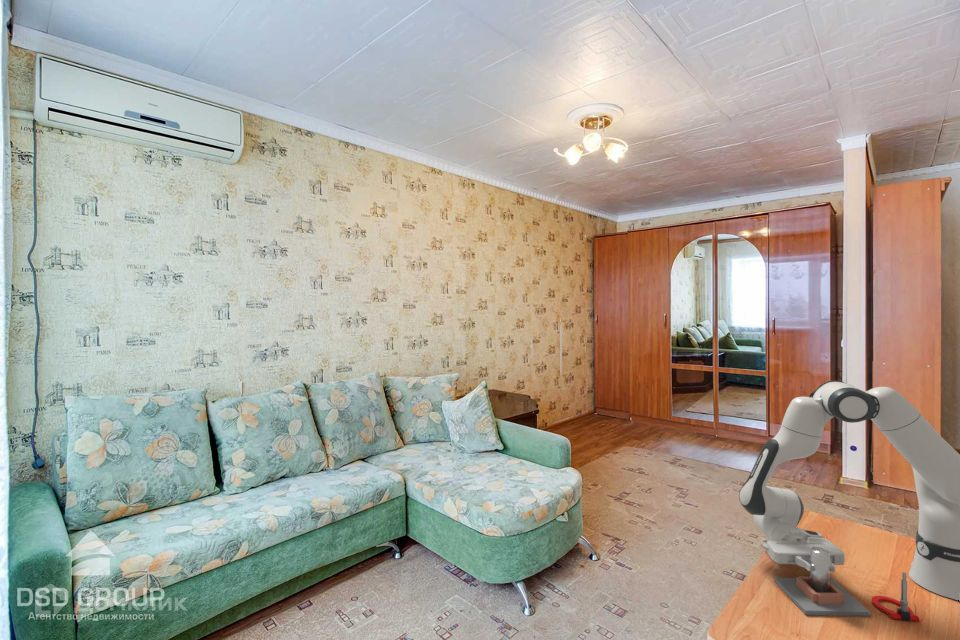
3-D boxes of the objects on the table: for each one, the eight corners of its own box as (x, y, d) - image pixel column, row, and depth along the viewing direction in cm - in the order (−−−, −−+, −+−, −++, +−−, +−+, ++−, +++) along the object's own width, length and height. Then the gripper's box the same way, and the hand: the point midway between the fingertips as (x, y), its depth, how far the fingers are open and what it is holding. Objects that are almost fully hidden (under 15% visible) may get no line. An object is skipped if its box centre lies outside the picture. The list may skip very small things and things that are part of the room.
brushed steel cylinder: (821, 586, 130) (823, 547, 129) (832, 596, 126) (834, 556, 125) (806, 585, 130) (807, 546, 130) (816, 596, 126) (817, 555, 125)
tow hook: (864, 598, 128) (888, 620, 119) (864, 554, 128) (889, 573, 119) (896, 600, 127) (923, 623, 118) (897, 556, 127) (924, 575, 118)
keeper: (832, 582, 135) (832, 570, 134) (869, 616, 121) (870, 603, 120) (774, 581, 136) (774, 569, 135) (805, 614, 122) (805, 601, 122)
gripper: (757, 531, 141) (785, 558, 127) (824, 532, 140) (859, 559, 126) (757, 550, 141) (784, 578, 128) (824, 551, 140) (858, 580, 126)
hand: (822, 569), depth 127 cm, fingers closed on brushed steel cylinder, 4 cm apart
